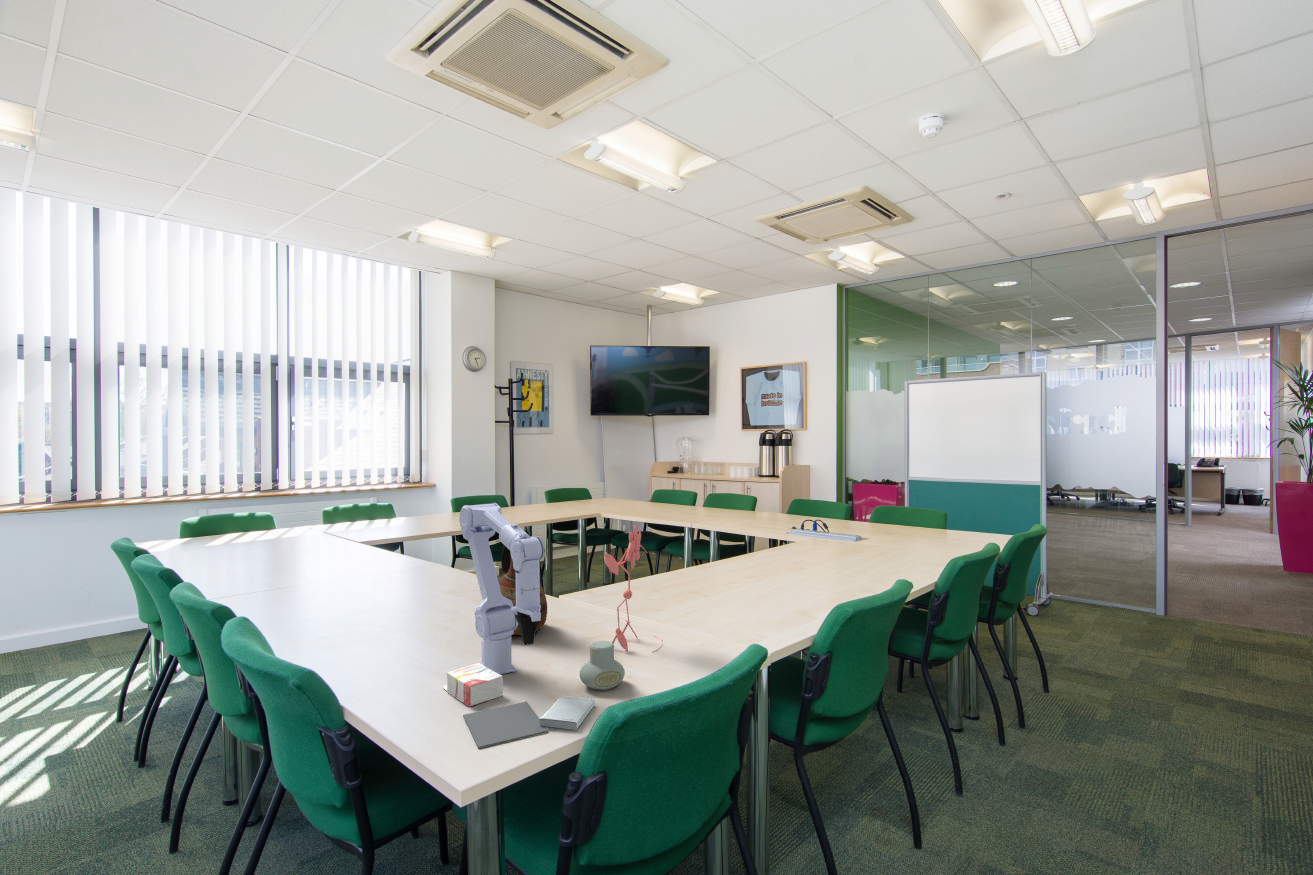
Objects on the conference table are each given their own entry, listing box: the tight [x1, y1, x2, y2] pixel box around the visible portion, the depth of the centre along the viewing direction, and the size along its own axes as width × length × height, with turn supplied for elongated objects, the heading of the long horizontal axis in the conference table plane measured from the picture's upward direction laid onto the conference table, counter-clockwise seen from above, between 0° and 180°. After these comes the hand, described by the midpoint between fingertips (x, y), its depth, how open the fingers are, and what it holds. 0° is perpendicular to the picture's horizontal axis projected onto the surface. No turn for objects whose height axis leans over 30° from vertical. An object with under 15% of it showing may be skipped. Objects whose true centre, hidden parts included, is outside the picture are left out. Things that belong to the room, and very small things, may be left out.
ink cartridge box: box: [442, 662, 504, 707], centre depth 144 cm, size 9×5×15 cm
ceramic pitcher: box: [498, 544, 548, 636], centre depth 192 cm, size 20×20×30 cm
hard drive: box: [539, 695, 596, 731], centre depth 131 cm, size 2×8×12 cm
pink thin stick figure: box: [603, 524, 663, 653], centre depth 177 cm, size 15×26×35 cm, turn 165°
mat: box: [462, 701, 549, 750], centre depth 128 cm, size 16×14×1 cm
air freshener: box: [579, 640, 626, 691], centre depth 148 cm, size 11×8×10 cm
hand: (528, 643), depth 147 cm, fingers closed
